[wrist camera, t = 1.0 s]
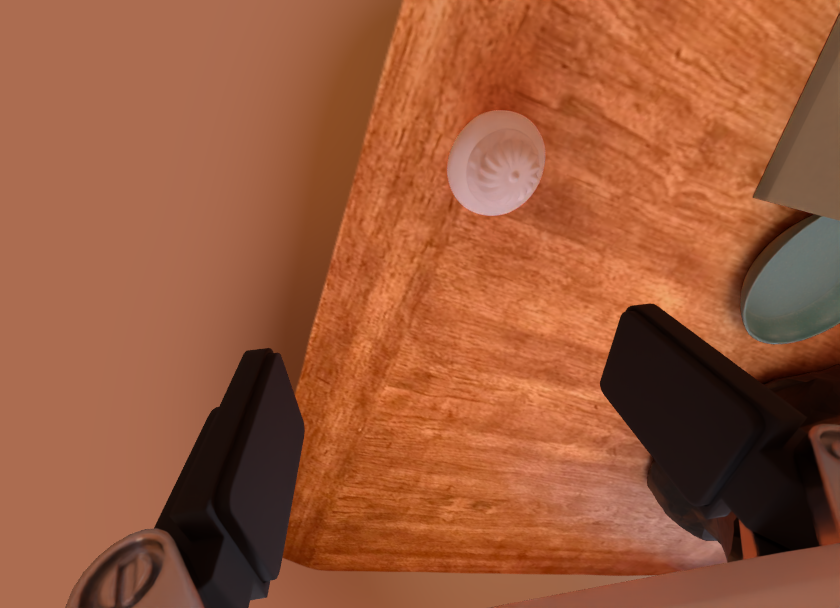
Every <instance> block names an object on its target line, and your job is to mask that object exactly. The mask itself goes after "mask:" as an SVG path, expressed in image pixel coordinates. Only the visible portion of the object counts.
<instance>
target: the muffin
mask: <svg viewBox="0 0 840 608" xmlns="http://www.w3.org/2000/svg"><path fill="white" fill-rule="evenodd" d="M544 165H545V146H544V142H543V139H542V136H541V134H540V132H539V130H538V129H537V127H536V126H535V125H534V124H533V123H532V122H531V121H530V120H529V119H528V118H526V117H525V116H523V115H521V114H519V113H516V112H512V111H506V110H495V111H489V112H485V113H483V114H480V115H478V116H477V117H475V118H474V119H472V120H471V121H470V122H469V123H468V124H467V125H466V126H465V127H464V128H463V129H462V131H461V132H460V133H459V135H458V136H457V138H456V140H455V141H454V143H453V146H452V148H451V151H450V154H449V157H448V163H447V176H448V181H449V185H450V188H451V190H452V192H453V194H454V196H455V197H456V199H457V200H458V201H459V202H460V203H461V204H462V205H463V206H464V207H465V208H467V209H468V210H470V211H472V212H475V213H478V214H481V215H488V216H496V215H502V214H506V213H509V212H511V211H513V210H515V209H517V208H518V207H520V206H521V205H522V204H523V203H525V202H526V201H527V200H528V199H529V198H530V196H531V195H532V194H533V192H534V191H535V189H536V188H537V186H538V184H539V182H540V179H541V176H542V173H543V170H544Z"/></svg>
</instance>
